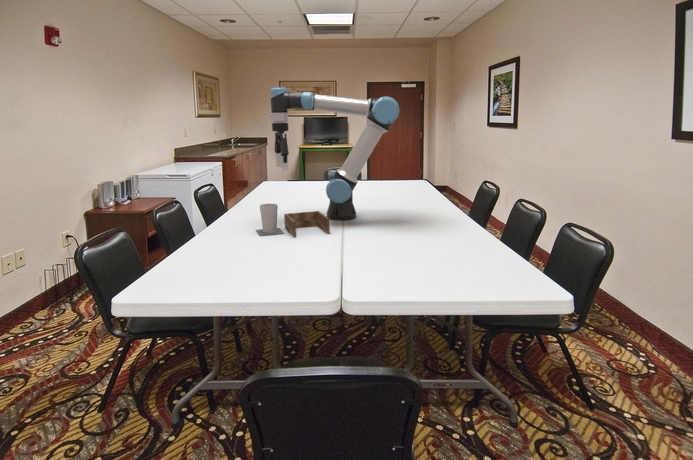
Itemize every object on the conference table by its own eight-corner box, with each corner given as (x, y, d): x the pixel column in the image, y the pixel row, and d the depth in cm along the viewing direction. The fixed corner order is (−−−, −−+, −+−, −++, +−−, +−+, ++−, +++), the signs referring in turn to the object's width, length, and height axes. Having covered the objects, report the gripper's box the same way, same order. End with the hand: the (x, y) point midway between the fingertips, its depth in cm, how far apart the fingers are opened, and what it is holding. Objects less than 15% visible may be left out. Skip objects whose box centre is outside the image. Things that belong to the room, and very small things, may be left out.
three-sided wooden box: (318, 225, 226) (318, 211, 224) (329, 233, 210) (329, 218, 209) (284, 228, 221) (284, 213, 219) (293, 237, 205) (292, 221, 203)
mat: (279, 228, 221) (279, 227, 221) (284, 233, 211) (284, 233, 211) (255, 230, 218) (255, 229, 218) (259, 236, 208) (259, 235, 208)
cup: (275, 233, 210) (274, 207, 207) (258, 233, 212) (256, 206, 209) (281, 229, 218) (280, 203, 215) (264, 228, 219) (263, 203, 216)
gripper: (267, 122, 230) (269, 166, 235) (277, 123, 207) (279, 171, 212) (282, 121, 233) (284, 165, 238) (294, 122, 210) (296, 170, 215)
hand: (282, 168), depth 225 cm, fingers open, 13 cm apart
